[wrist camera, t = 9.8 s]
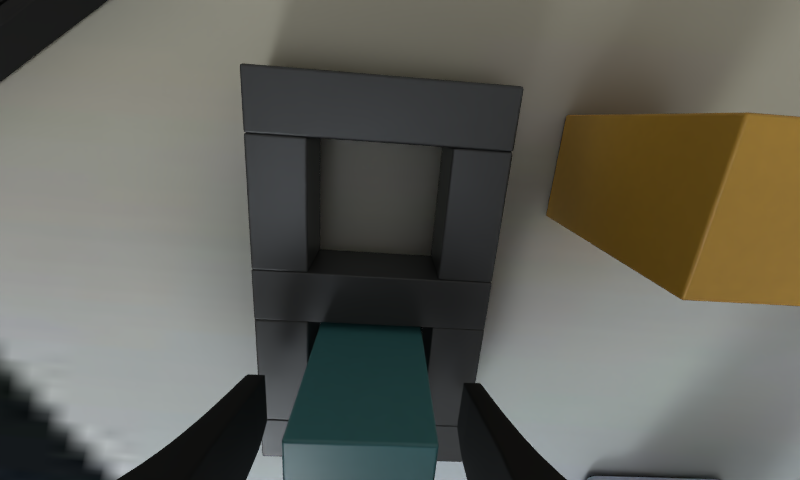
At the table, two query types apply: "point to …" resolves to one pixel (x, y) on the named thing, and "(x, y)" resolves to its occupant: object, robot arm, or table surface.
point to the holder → (360, 271)
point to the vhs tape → (36, 27)
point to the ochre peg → (688, 200)
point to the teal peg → (363, 408)
